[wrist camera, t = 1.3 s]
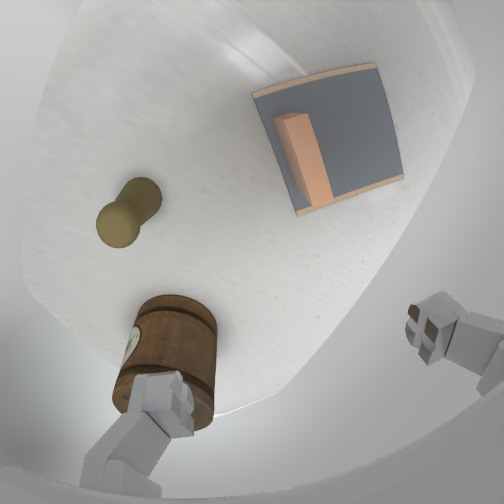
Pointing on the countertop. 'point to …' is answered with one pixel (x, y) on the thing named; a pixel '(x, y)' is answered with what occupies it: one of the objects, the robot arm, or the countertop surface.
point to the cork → (128, 212)
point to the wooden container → (172, 351)
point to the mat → (338, 129)
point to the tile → (304, 157)
